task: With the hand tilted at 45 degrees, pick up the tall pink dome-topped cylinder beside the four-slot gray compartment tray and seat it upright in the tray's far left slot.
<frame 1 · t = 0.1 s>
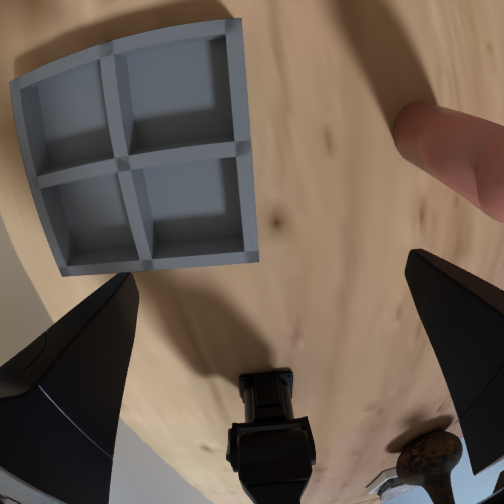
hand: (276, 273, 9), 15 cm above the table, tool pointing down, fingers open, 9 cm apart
gray compartment tray: (135, 153, 21), on the table
pink dome-topped cylinder: (421, 133, 21), on the table
towel frame: (400, 472, 76), on the table
towel: (400, 472, 76), touching towel frame
glass bottle: (422, 439, 58), on the table
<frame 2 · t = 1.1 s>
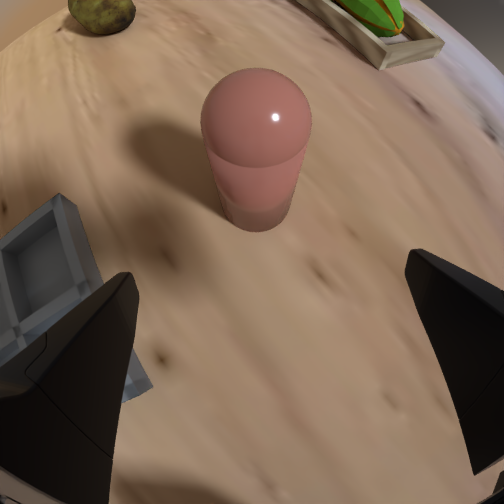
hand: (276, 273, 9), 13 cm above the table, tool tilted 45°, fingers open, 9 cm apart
gray compartment tray: (38, 331, 22), on the table
potato: (107, 24, 31), on the table
pink dome-topped cylinder: (255, 199, 24), on the table
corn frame: (347, 8, 31), on the table
corn: (343, 9, 31), on the table
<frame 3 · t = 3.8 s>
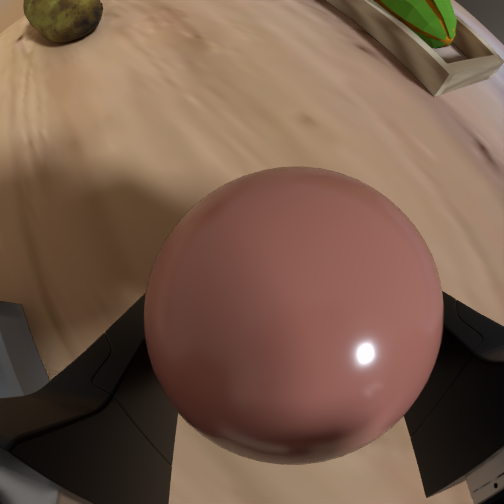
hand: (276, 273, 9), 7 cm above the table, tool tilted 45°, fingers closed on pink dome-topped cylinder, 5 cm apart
gray compartment tray: (6, 448, 13), on the table
potato: (71, 28, 23), on the table
pink dome-topped cylinder: (269, 320, 16), on the table, touching gripper
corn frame: (381, 6, 22), on the table
corn: (372, 7, 23), on the table
when the fingers open (9 cm above the table, at t = 8.8 s): pink dome-topped cylinder drops 1 cm, resting on gray compartment tray.
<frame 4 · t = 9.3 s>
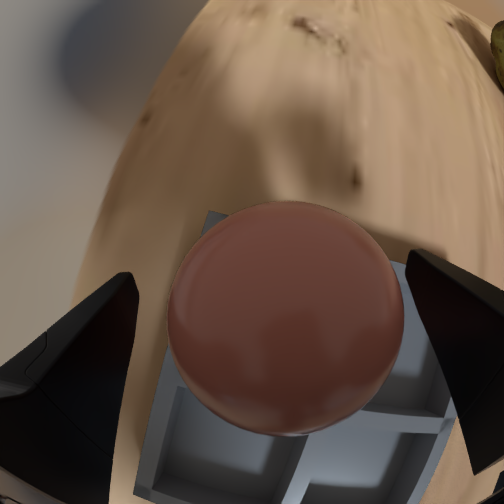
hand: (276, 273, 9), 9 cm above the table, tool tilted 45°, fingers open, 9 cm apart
gray compartment tray: (315, 400, 16), on the table
pink dome-topped cylinder: (269, 320, 17), point 1 cm above the table, touching gray compartment tray
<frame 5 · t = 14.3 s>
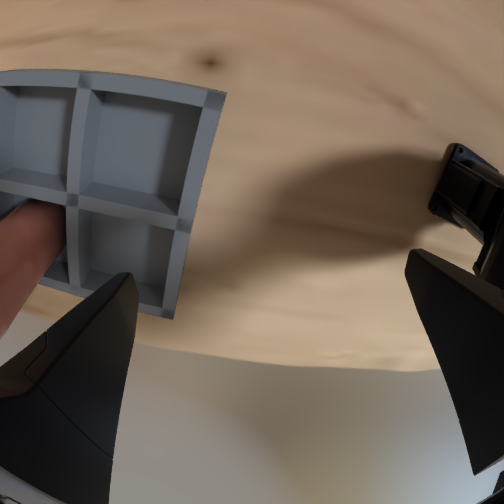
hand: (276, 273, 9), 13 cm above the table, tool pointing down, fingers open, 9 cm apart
gray compartment tray: (89, 184, 20), on the table
pink dome-topped cylinder: (45, 223, 21), point 1 cm above the table, touching gray compartment tray
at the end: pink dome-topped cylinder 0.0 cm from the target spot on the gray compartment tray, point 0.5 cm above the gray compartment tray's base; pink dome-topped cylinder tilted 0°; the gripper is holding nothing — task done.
